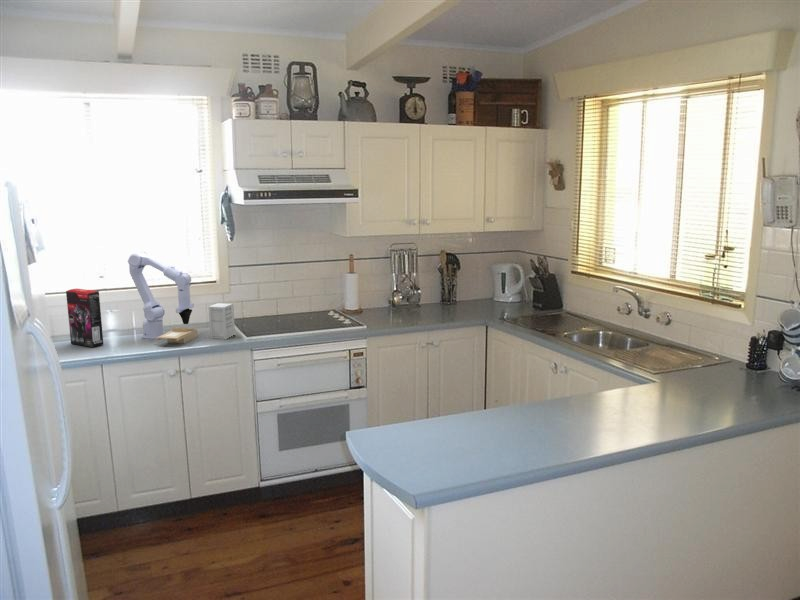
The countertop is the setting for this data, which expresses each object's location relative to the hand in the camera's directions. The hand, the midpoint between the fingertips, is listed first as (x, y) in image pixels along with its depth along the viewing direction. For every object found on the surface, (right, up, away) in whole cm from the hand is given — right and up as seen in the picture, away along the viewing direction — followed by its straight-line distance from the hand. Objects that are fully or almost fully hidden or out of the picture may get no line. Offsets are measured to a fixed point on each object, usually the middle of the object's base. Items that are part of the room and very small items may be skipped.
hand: (185, 323), depth 339 cm
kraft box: (-1, -8, -3) cm, 8 cm away
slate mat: (0, -8, -4) cm, 9 cm away
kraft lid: (-2, -6, -11) cm, 12 cm away
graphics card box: (-46, -10, -10) cm, 48 cm away
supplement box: (+18, -7, +4) cm, 20 cm away
